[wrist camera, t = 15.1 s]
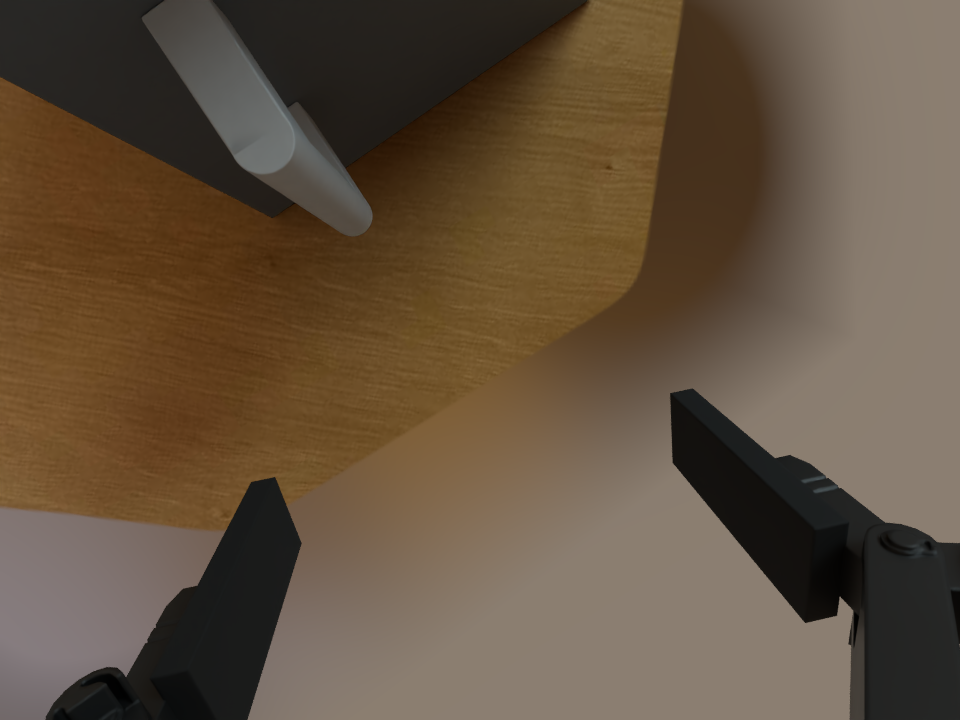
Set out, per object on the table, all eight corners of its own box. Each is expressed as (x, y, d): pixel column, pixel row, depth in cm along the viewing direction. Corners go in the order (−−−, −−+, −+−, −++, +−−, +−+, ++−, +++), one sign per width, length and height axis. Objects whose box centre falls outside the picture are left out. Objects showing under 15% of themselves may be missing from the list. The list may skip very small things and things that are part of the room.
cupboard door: (647, 80, 31) (1145, -717, 7) (325, 298, 32) (-127, 207, 9) (585, -18, 31) (895, -1165, 7) (263, 205, 32) (-379, -152, 8)
